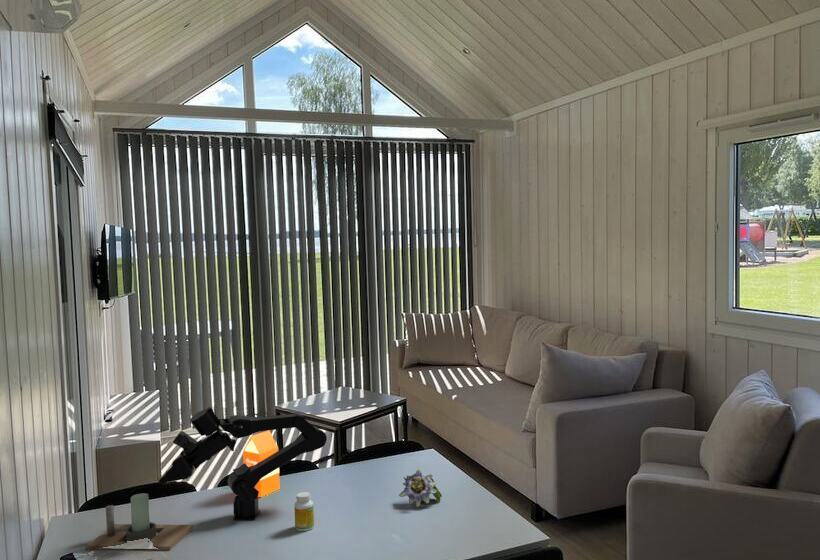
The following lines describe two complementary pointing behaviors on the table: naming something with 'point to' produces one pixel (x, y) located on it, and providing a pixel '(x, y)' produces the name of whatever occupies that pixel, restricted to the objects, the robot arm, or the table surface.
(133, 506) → the pale green cylinder
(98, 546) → the ring holder
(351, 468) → the table surface
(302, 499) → the supplement bottle
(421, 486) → the passion flower
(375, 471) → the table surface
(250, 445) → the orange juice
